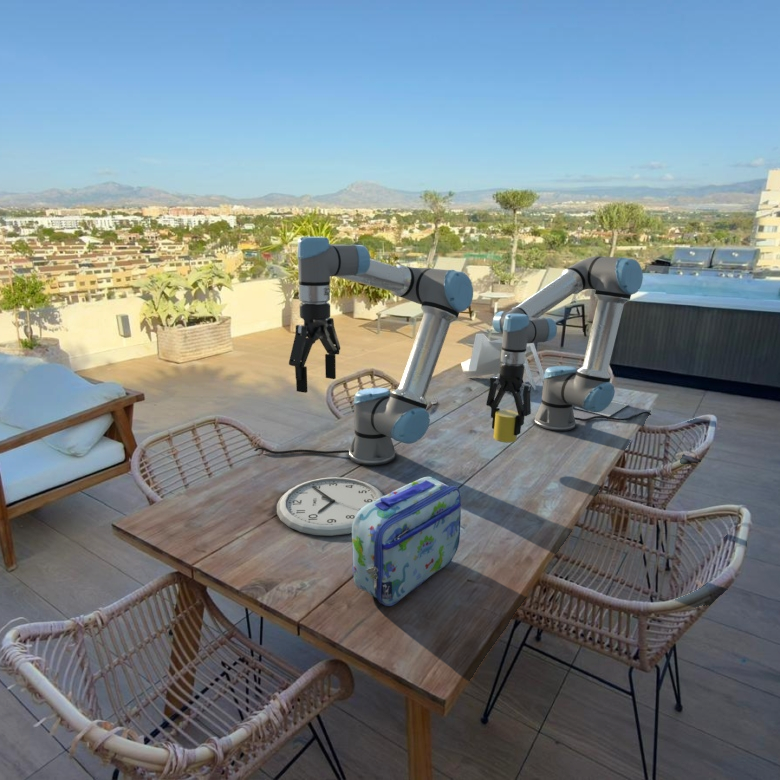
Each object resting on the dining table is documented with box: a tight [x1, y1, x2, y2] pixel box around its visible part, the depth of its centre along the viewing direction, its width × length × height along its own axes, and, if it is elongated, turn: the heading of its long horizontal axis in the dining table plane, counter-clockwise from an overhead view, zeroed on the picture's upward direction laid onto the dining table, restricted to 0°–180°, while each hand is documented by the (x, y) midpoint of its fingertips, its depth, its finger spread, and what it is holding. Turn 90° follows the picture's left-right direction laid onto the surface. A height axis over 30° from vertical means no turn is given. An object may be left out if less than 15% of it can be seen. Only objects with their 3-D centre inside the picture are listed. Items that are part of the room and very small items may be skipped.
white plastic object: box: [460, 306, 545, 391], centre depth 259 cm, size 37×45×31 cm
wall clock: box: [276, 476, 385, 537], centre depth 142 cm, size 30×2×30 cm
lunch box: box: [351, 476, 462, 607], centre depth 111 cm, size 26×11×21 cm, turn 135°
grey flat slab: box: [573, 400, 629, 417], centre depth 226 cm, size 21×1×15 cm
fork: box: [426, 396, 439, 412], centre depth 222 cm, size 3×16×2 cm, turn 160°
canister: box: [492, 409, 518, 444], centre depth 171 cm, size 8×8×9 cm
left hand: (316, 384), depth 135 cm, fingers open, 13 cm apart
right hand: (505, 430), depth 172 cm, fingers closed on canister, 7 cm apart
